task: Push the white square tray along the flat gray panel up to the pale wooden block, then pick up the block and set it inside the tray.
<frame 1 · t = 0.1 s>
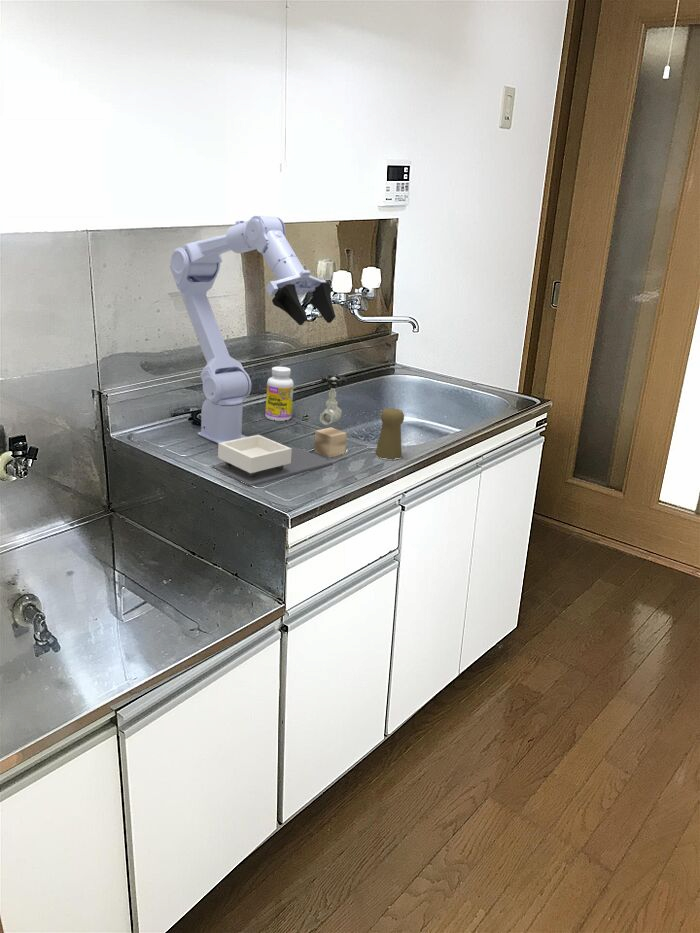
hand: (317, 320, 151), 32 cm above the counter, tool tilted 50°, fingers open, 7 cm apart
cork: (388, 456, 178), on the counter
white square tray: (254, 456, 160), point 3 cm above the counter, slide at 0.0 cm
supplement bottle: (278, 418, 198), on the counter
valve: (330, 424, 198), on the counter
wooden block: (329, 452, 176), on the counter
flat gray panel: (274, 466, 165), on the counter
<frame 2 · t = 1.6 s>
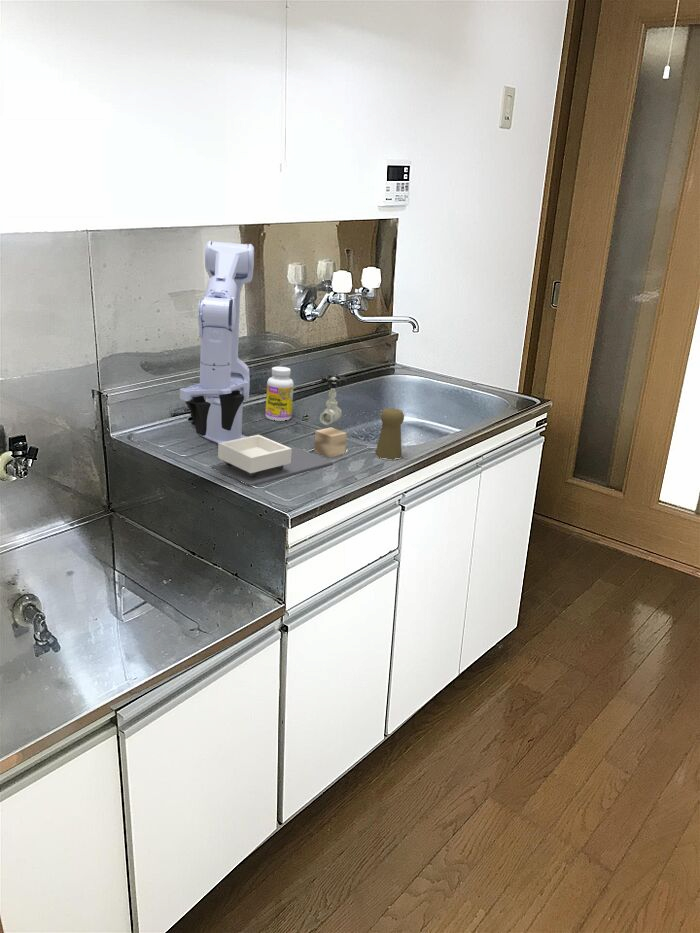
hand: (213, 431, 150), 10 cm above the counter, tool pointing down, fingers open, 5 cm apart
nothing on the counter moved.
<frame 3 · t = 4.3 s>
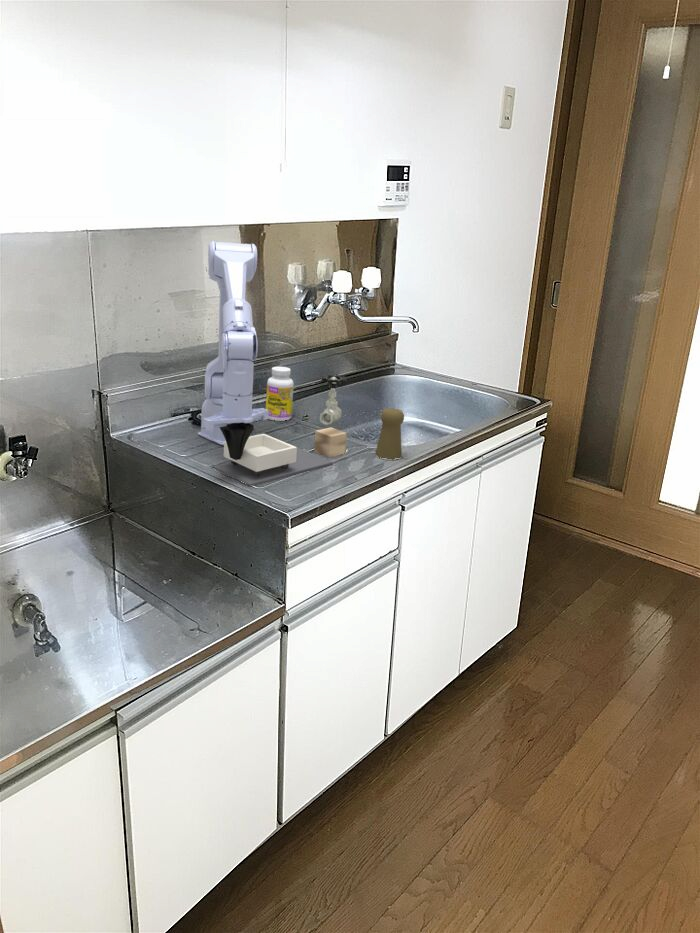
hand: (235, 458, 156), 4 cm above the counter, tool pointing down, fingers closed
white square tray: (260, 455, 161), point 3 cm above the counter, slide at 1.5 cm, touching gripper
everything else where it was.
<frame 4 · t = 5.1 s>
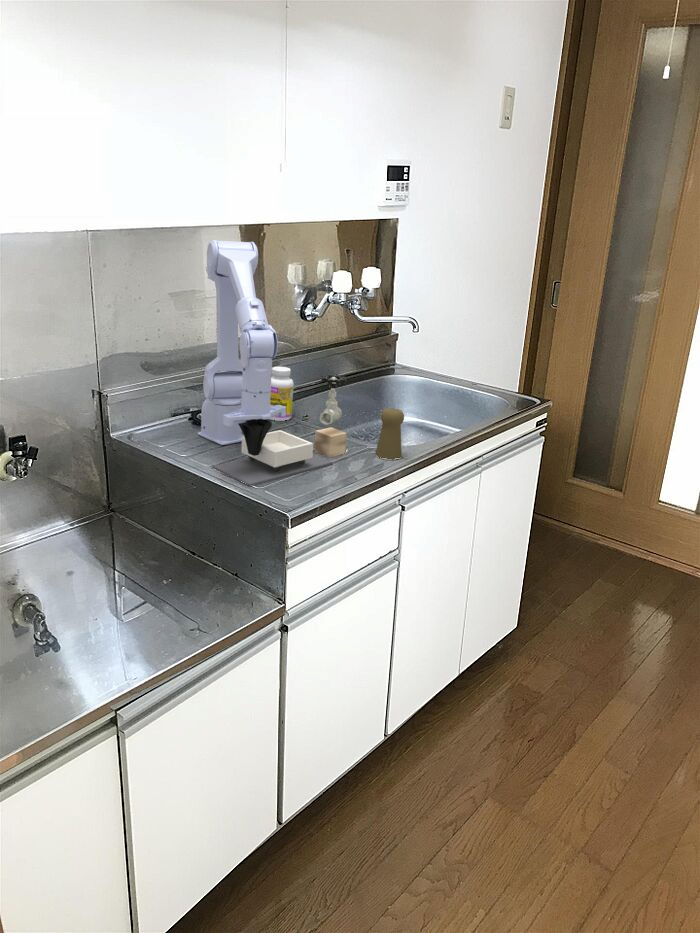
hand: (253, 453, 159), 4 cm above the counter, tool pointing down, fingers closed
white square tray: (277, 451, 164), point 3 cm above the counter, slide at 6.1 cm, touching gripper
everything else where it was.
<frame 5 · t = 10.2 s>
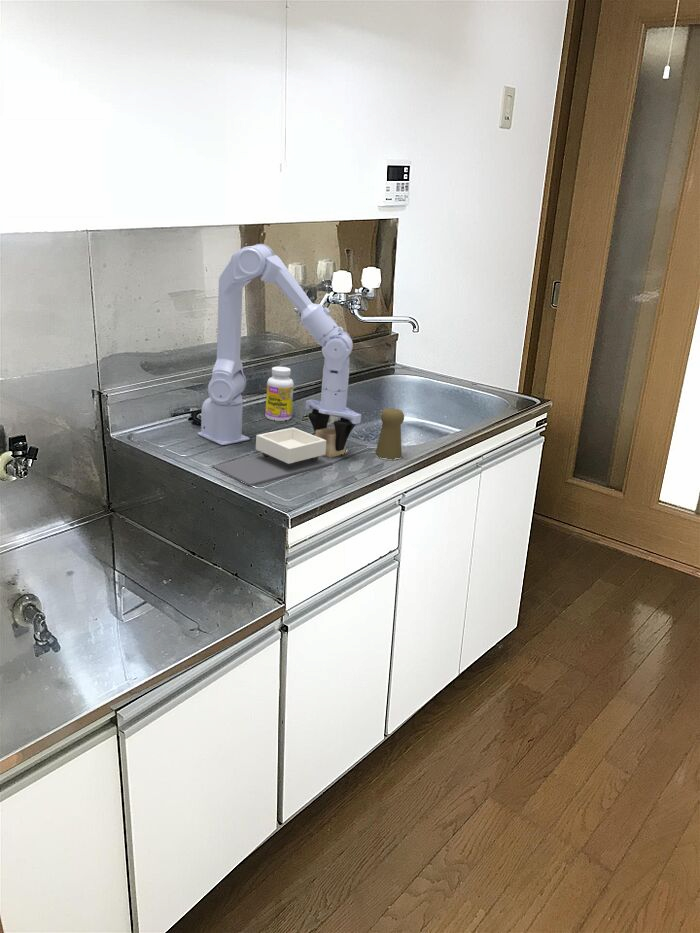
hand: (330, 446, 176), 1 cm above the counter, tool pointing down, fingers closed on wooden block, 5 cm apart
white square tray: (290, 448, 167), point 3 cm above the counter, slide at 10.0 cm
wooden block: (329, 452, 176), on the counter, touching gripper
everything else where it was.
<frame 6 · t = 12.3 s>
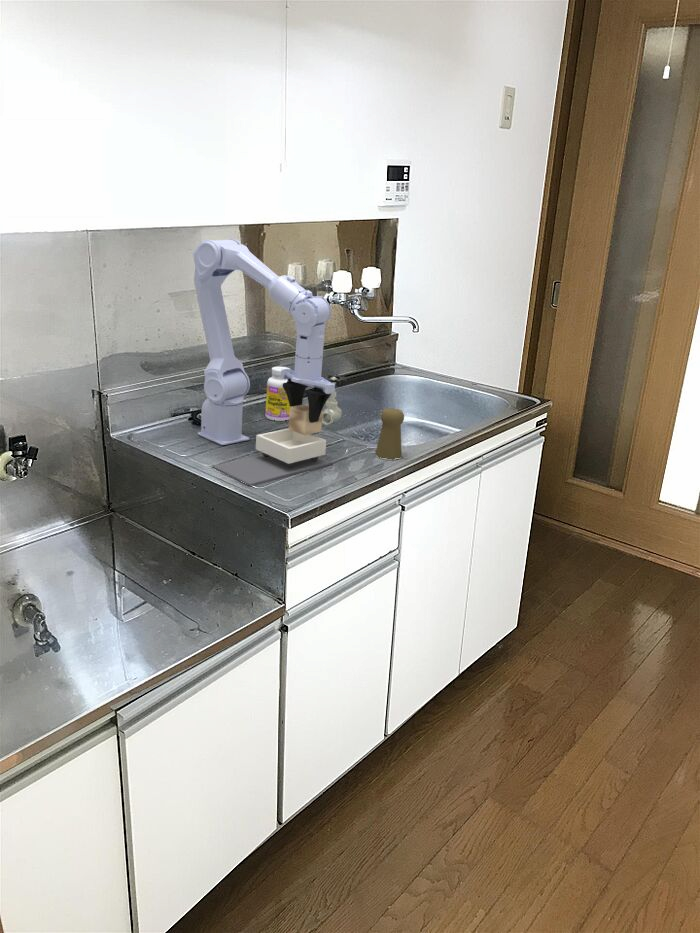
hand: (304, 418, 167), 9 cm above the counter, tool pointing down, fingers closed on wooden block, 5 cm apart
wooden block: (304, 430, 168), point 7 cm above the counter, touching gripper
everything else where it was.
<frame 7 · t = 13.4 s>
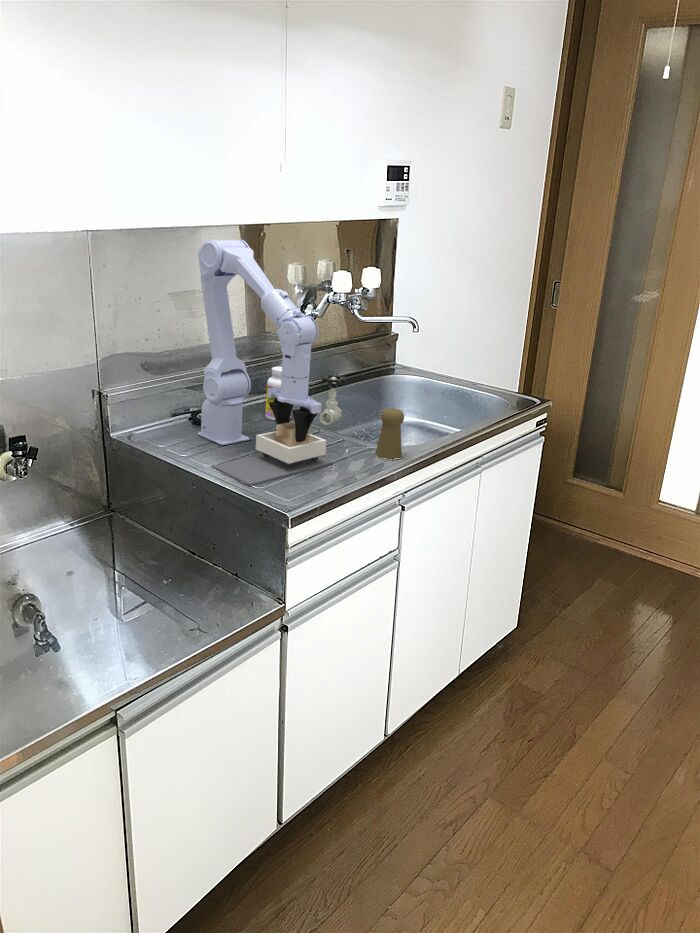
hand: (291, 437, 166), 6 cm above the counter, tool pointing down, fingers closed on wooden block, 5 cm apart
white square tray: (290, 448, 167), point 3 cm above the counter, slide at 10.0 cm, touching wooden block
wooden block: (291, 448, 167), point 3 cm above the counter, touching white square tray, gripper
everything else where it was.
when the fingers open (6 cm above the counter, at t = 13.9 s): wooden block stays where it is, resting on white square tray.
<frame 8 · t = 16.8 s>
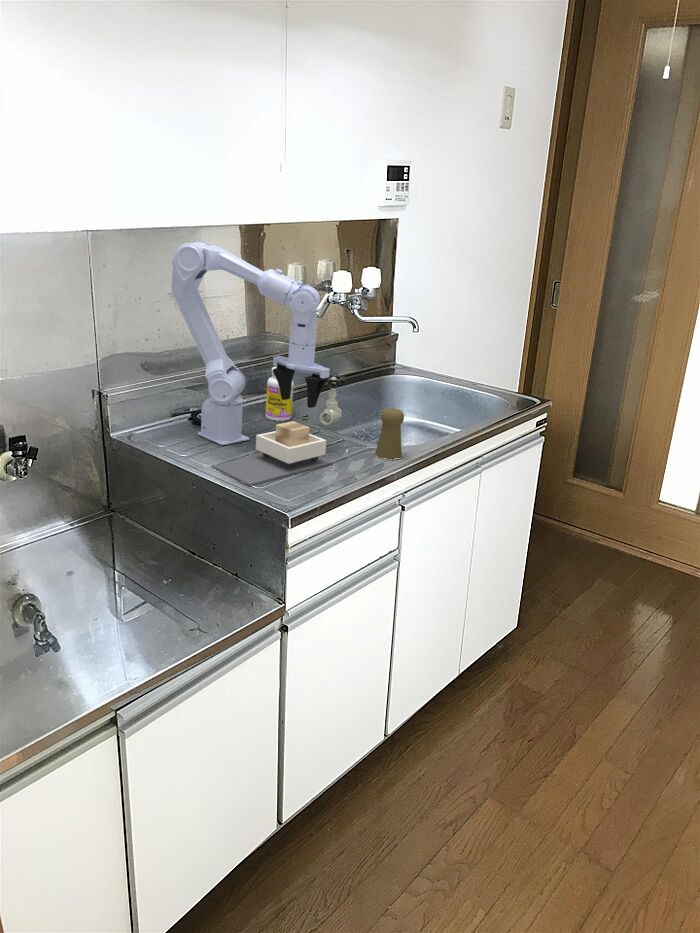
hand: (298, 403, 174), 10 cm above the counter, tool pointing down, fingers open, 7 cm apart
wooden block: (291, 448, 167), point 3 cm above the counter, touching white square tray
everything else where it was.
at the end: white square tray slide at 10.0 cm; wooden block 0.2 cm off-centre on the white square tray, point 3.2 cm above the white square tray's base; wooden block tilted 0° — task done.
